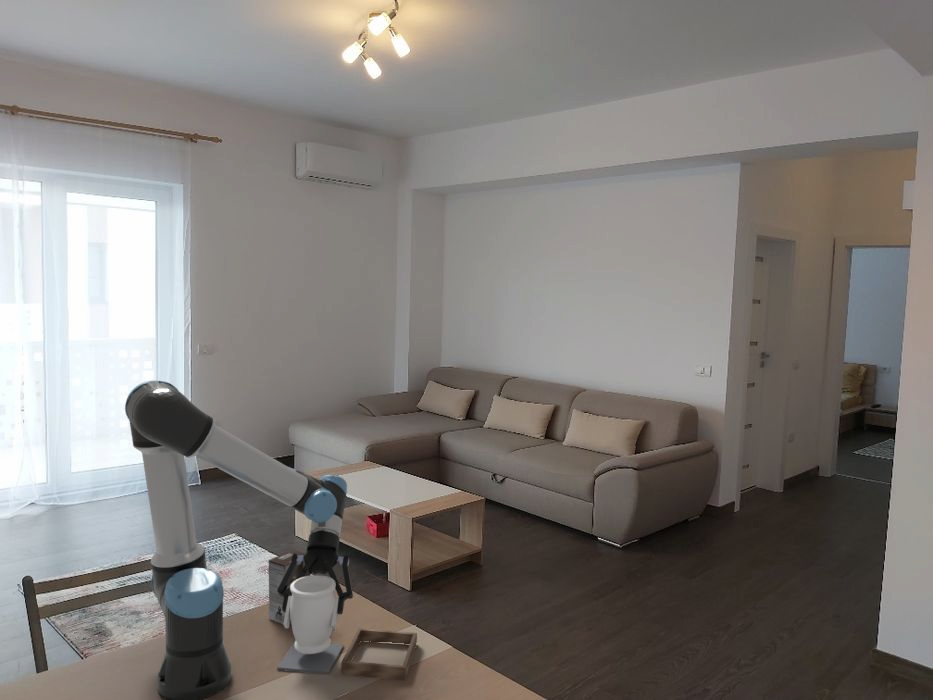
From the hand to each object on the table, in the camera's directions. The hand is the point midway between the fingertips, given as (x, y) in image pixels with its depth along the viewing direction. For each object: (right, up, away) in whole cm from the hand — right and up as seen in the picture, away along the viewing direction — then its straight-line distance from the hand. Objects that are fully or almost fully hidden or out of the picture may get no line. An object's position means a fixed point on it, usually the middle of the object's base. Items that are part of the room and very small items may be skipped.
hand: (309, 627), depth 161 cm
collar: (+16, -9, +4) cm, 19 cm away
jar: (0, -6, +4) cm, 7 cm away
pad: (0, -9, +4) cm, 9 cm away
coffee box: (-11, -7, +24) cm, 27 cm away
